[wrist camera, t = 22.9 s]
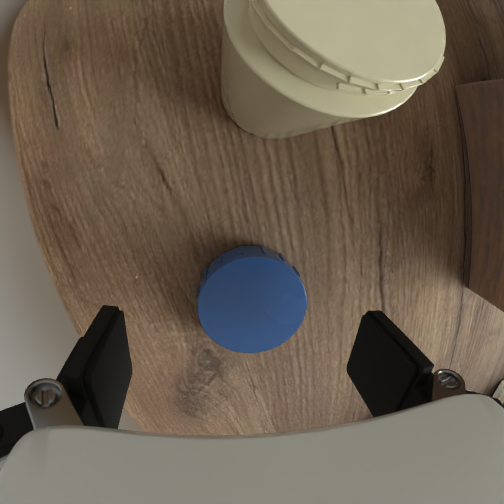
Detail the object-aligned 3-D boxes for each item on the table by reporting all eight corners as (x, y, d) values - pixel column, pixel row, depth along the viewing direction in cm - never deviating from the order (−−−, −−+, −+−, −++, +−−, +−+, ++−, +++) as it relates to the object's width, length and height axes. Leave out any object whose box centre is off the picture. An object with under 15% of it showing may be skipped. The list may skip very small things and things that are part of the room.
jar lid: (273, 345, 16) (278, 363, 15) (185, 318, 15) (182, 335, 14) (315, 266, 15) (326, 279, 13) (221, 228, 14) (221, 237, 12)
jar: (199, 103, 12) (162, 2, 3) (258, 28, 11) (311, -104, 2) (289, 159, 13) (410, 168, 4) (341, 83, 12) (479, 22, 3)
